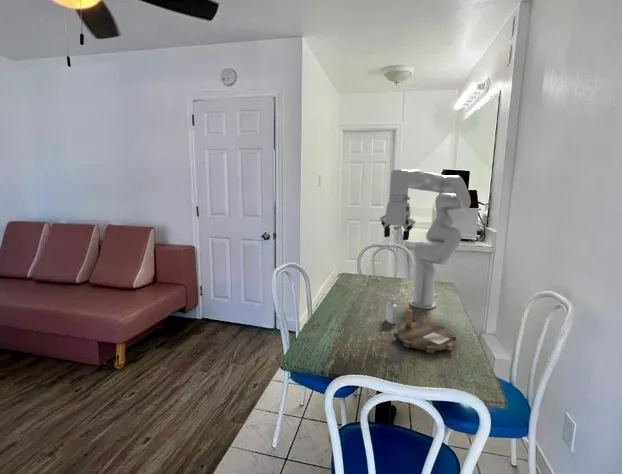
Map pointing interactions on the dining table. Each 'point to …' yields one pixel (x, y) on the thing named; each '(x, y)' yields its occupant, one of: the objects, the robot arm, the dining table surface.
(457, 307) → the dining table surface
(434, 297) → the robot arm
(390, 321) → the eye dropper bottle
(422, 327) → the sprocket
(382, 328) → the dining table surface
